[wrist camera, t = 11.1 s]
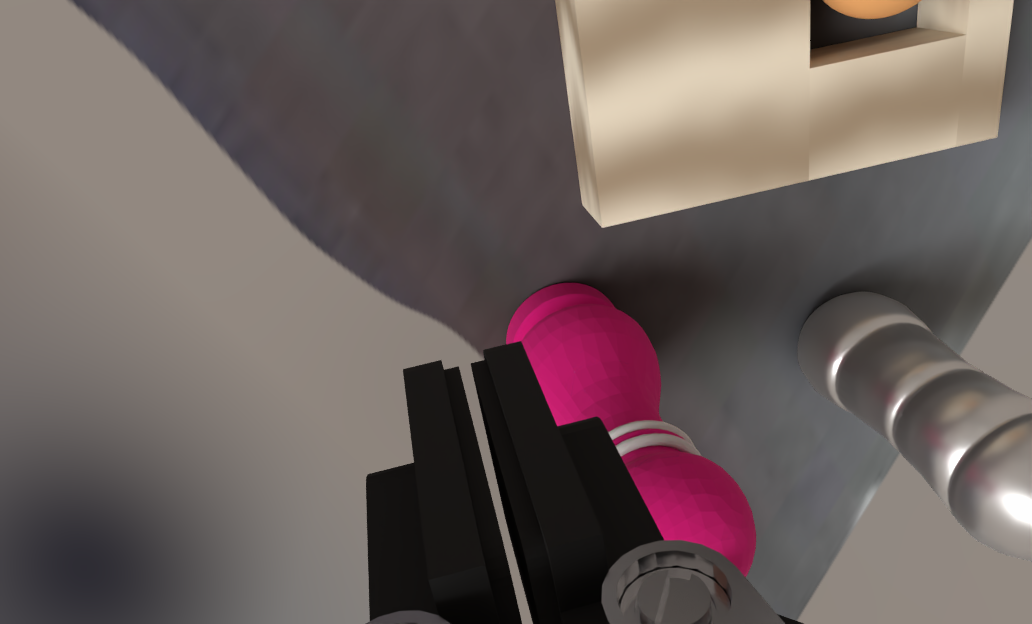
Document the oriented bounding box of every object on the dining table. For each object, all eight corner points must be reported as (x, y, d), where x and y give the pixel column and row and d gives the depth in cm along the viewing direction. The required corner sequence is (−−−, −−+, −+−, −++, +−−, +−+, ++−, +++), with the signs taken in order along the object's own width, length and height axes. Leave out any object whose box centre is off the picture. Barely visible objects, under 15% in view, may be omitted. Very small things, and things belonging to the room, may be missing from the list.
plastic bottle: (781, 294, 43) (1077, 538, 26) (893, 266, 44) (1257, 486, 26) (783, 390, 46) (1049, 668, 29) (887, 362, 47) (1212, 618, 29)
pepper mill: (600, 249, 40) (797, 494, 22) (644, 357, 44) (845, 643, 26) (474, 310, 40) (571, 601, 23) (528, 412, 44) (649, 735, 26)
